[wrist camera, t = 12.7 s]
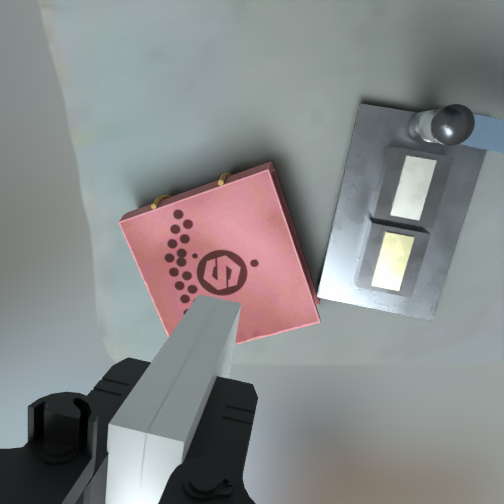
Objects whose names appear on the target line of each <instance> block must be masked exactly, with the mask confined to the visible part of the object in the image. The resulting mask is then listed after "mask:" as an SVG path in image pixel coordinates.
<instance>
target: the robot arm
mask: <svg viewBox="0 0 504 504" xmlns="http://www.w3.org/2000/svg"><path fill="white" fill-rule="evenodd" d="M241 304H242V303H238V302H233V301H228V300H224V299H219V298H214V297H209V296H204V295H200V294H199V295H198V296H197V298H196V299H195V301H194V302H193V303H192V305H191V306H190V308H189V309H188V311H187V312H186V313H185V315H184V316H183V318H182V319H181V321H180V322H179V324H178V325H177V326H176V328H175V329H174V331H173V332H172V334H171V335H170V336H169V338H168V339H167V341H166V342H165V344H164V345H163V346H162V348H161V349H160V351H159V352H158V354H157V355H156V357H155V358H154V359H153V361H152V362H146V361H142V360H137V359H133V358H126V359H124V360H122V361H121V362H119V363H117V364H115V365H113V366H112V367H111V368H110V369H109V370H108V372H107V373H106V374H105V375H104V376H103V377H102V380H100V381H99V382H98V383H97V385H96V386H95V387H94V389H93V390H91V392H90V393H89V394H88V395H87V396H86V395H83V394H81V393H73V392H62V393H55V394H51V395H48V396H45V397H42V398H40V399H38V400H36V401H35V402H34V403H32V404H31V405H29V406H28V442H27V443H26V444H25V446H24V447H21V448H12V449H0V504H255V503H254V501H253V500H252V499H251V498H250V497H249V495H248V493H247V491H246V489H245V488H244V484H243V470H244V466H245V461H246V456H247V451H248V446H249V441H250V436H251V431H252V425H253V420H254V415H255V410H256V405H257V400H258V397H257V394H256V391H255V389H254V386H253V384H250V383H245V382H241V381H237V380H232V379H228V377H229V374H230V369H231V364H232V358H233V352H234V346H235V340H236V334H237V328H238V322H239V316H240V310H241Z"/></svg>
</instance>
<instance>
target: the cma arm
mask: <svg viewBox="0 0 504 504" xmlns="http://www.w3.org/2000/svg"><path fill="white" fill-rule="evenodd" d="M431 134H432V136H433V138H434V139H435V140H436V141H437V142H439V143H440V144H443V145H458V144H460V145H465V146H470V147H474V148H479V149H483V150H488V151H493V152H497V153H502V154H504V120H501V119H496V118H492V117H487V116H482V115H477V114H473V113H472V112H471V110H470V109H469V108H467V107H466V106H463V105H459V104H454V105H449V106H446V107H443V108H442V109H440V110H439V111H438V112H437V113H436V114H435V115H434V117H433V119H432V121H431Z"/></svg>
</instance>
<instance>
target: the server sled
mask: <svg viewBox="0 0 504 504" xmlns="http://www.w3.org/2000/svg"><path fill="white" fill-rule="evenodd" d="M440 109H442V108H440ZM440 109H435V110H429V111H424V112H420V113H417V112H411V111H404V110H398V109H392V108H386V107H380V106H373V105H367V104H359V109H358V113H357V118H356V122H355V127H354V131H353V135H352V140H351V144H350V149H349V153H348V158H347V162H346V166H345V171H344V175H343V180H342V184H341V189H340V193H339V197H338V202H337V206H336V211H335V215H334V220H333V224H332V228H331V233H330V237H329V242H328V246H327V251H326V255H325V259H324V264H323V268H322V273H321V277H320V282H319V286H318V290H317V297H320V298H324V299H329V300H334V301H339V302H344V303H349V304H354V305H359V306H364V307H369V308H373V309H378V310H383V311H388V312H393V313H398V314H403V315H408V316H413V317H418V318H423V319H427V320H432V317H433V314H434V311H435V308H436V305H437V302H438V299H439V296H440V293H441V289H442V286H443V283H444V280H445V277H446V274H447V271H448V268H449V265H450V262H451V258H452V255H453V252H454V249H455V246H456V243H457V240H458V237H459V234H460V231H461V228H462V224H463V221H464V218H465V215H466V212H467V209H468V206H469V203H470V200H471V197H472V194H473V190H474V187H475V184H476V181H477V178H478V175H479V172H480V169H481V166H482V163H483V159H484V156H485V153H486V150H483V149H479V148H474V147H470V146H465V145H460V144H458V145H443V144H440V143H439V142H437V141H436V140H435V139H434V138H433V136H432V134H431V121H432V119H433V117H434V115H435V114H436V113H437V112H438V111H439V110H440Z"/></svg>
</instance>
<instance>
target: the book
mask: <svg viewBox="0 0 504 504" xmlns="http://www.w3.org/2000/svg"><path fill="white" fill-rule="evenodd" d="M118 223H119V225H120V227H121V230H122V232H123V234H124V236H125V239H126V241H127V243H128V246H129V248H130V250H131V253H132V255H133V257H134V259H135V262H136V264H137V266H138V269H139V271H140V273H141V276H142V278H143V280H144V282H145V285H146V287H147V289H148V292H149V294H150V296H151V299H152V301H153V303H154V305H155V308H156V310H157V312H158V315H159V317H160V319H161V322H162V324H163V326H164V328H165V331H166V333H167V335H168V338H169V336H170V335H171V334H172V332H173V331H174V329H175V328H176V326H177V325H178V324H179V322H180V321H181V319H182V318H183V316H184V315H185V313H186V312H187V311H188V309H189V308H190V306H191V305H192V303H193V302H194V301H195V299H196V298H197V296H198V295H199V294H200V295H204V296H209V297H214V298H219V299H224V300H228V301H233V302H238V303H242V304H241V310H240V316H239V322H238V328H237V334H236V340H235V345H236V344H240V343H244V342H248V341H252V340H256V339H259V338H263V337H267V336H271V335H275V334H279V333H283V332H286V331H290V330H294V329H298V328H302V327H306V326H310V325H314V324H317V323H321V320H320V316H319V313H318V311H317V308H316V305H317V304H320V302H319V299H318V297H317V293H316V290H315V287H314V284H313V281H312V278H311V275H310V272H309V269H308V266H307V263H306V260H305V257H304V254H303V251H302V248H301V245H300V242H299V239H298V236H297V233H296V230H295V227H294V224H293V221H292V218H291V215H290V213H289V210H288V207H287V204H286V201H285V198H284V195H283V192H282V189H281V186H280V183H279V180H278V177H277V174H276V171H275V168H274V165H273V163H272V162H271V161H270V162H268V163H265V164H262V165H259V166H256V167H254V168H251V169H248V170H245V171H242V172H240V173H237V174H234V175H232V174H231V173H229V172H225V173H223V174H221V176H220V178H219V180H217V181H214V182H211V183H209V184H206V185H203V186H200V187H197V188H195V189H192V190H189V191H186V192H183V193H181V194H178V195H175V196H171V195H167V194H164V195H161V196H159V197H157V198H156V199H155V201H154V202H153V203H152V204H150V205H147V206H144V207H141V208H139V209H136V210H133V211H130V212H128V213H126V214H124V215H123V217H122V218H121V219H120V221H119V222H118Z"/></svg>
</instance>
